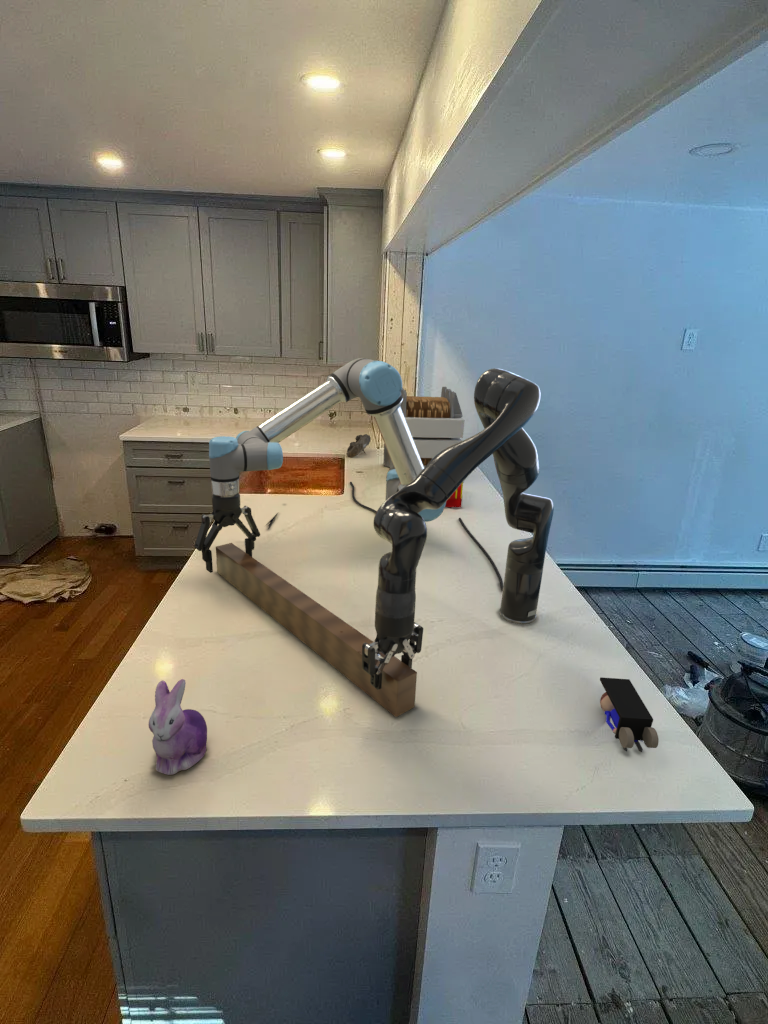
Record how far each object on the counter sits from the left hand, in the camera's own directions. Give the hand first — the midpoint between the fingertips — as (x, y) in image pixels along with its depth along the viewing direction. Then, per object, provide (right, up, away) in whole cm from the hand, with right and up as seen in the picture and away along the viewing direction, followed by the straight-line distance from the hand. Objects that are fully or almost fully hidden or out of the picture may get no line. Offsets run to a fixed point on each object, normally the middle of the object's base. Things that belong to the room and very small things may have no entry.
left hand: (229, 565), depth 163 cm
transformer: (+62, +34, +112) cm, 132 cm away
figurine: (+9, -27, -65) cm, 71 cm away
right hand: (+46, -18, -50) cm, 70 cm away
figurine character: (+90, -27, -54) cm, 108 cm away
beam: (+23, -13, -24) cm, 35 cm away
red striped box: (+70, +22, +79) cm, 108 cm away
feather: (+4, +14, +48) cm, 50 cm away
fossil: (+30, +47, +144) cm, 154 cm away
